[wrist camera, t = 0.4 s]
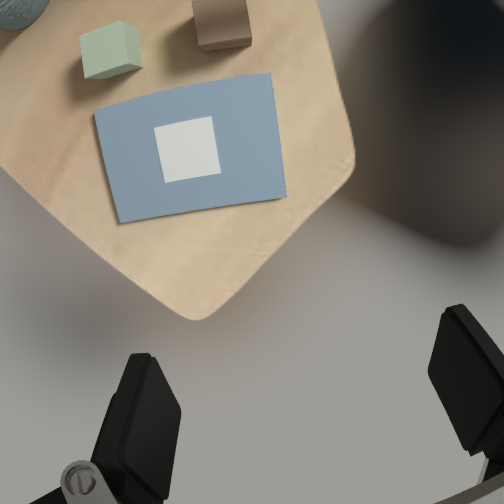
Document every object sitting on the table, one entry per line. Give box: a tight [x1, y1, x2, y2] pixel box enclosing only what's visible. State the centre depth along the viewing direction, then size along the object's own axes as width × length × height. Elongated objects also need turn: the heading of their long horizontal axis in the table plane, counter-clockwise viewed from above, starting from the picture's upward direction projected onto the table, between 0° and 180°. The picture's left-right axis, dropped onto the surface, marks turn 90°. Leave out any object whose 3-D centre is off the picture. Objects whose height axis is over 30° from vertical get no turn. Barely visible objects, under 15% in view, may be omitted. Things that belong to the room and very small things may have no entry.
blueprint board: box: [94, 73, 287, 223], centre depth 34 cm, size 14×20×1 cm
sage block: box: [79, 20, 143, 80], centre depth 27 cm, size 5×5×5 cm
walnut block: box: [192, 0, 252, 53], centre depth 26 cm, size 5×5×5 cm
